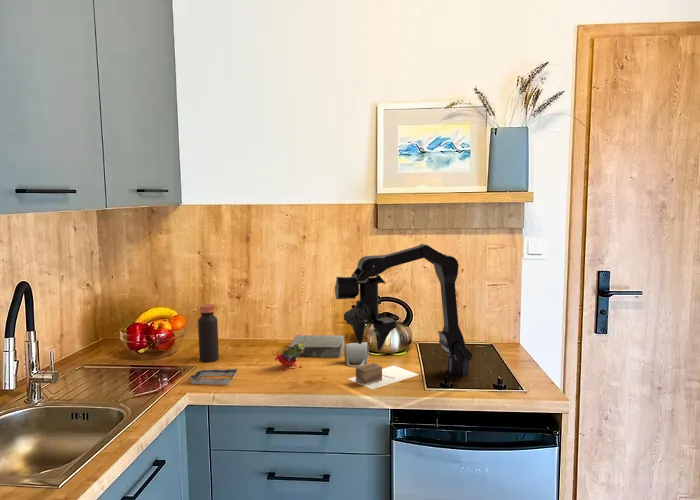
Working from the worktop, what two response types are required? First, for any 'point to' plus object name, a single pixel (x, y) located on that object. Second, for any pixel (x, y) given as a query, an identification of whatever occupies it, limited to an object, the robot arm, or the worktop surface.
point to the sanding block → (369, 374)
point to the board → (389, 377)
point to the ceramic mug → (356, 353)
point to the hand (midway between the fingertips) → (369, 346)
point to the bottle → (208, 334)
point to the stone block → (320, 345)
